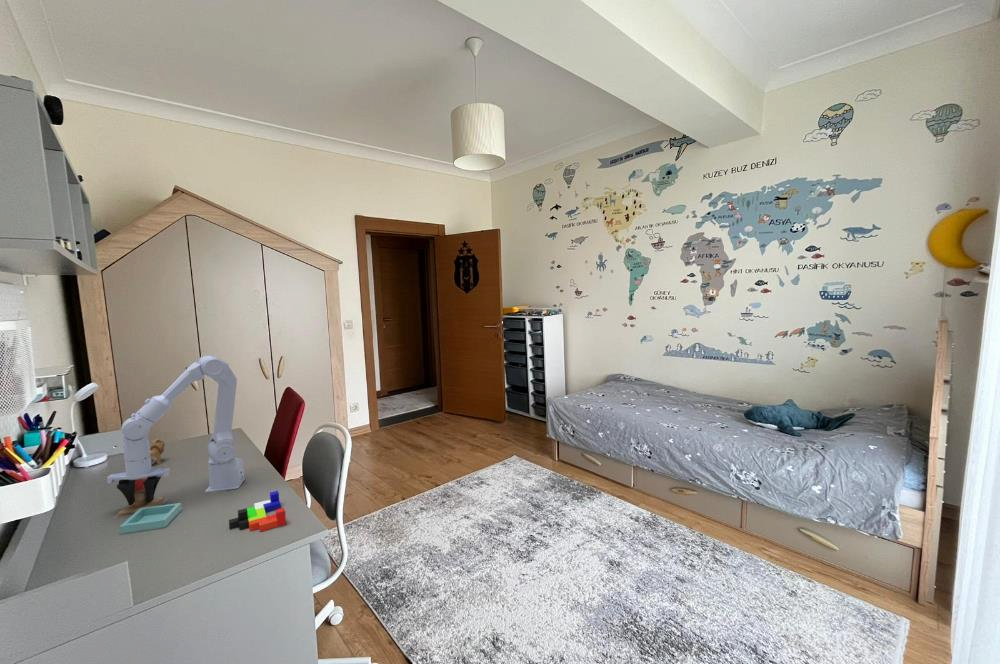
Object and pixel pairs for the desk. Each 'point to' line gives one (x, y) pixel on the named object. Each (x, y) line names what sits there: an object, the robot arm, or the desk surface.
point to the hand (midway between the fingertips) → (141, 502)
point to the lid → (139, 503)
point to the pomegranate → (139, 484)
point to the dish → (151, 518)
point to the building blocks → (260, 515)
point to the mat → (131, 515)
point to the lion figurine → (157, 450)
